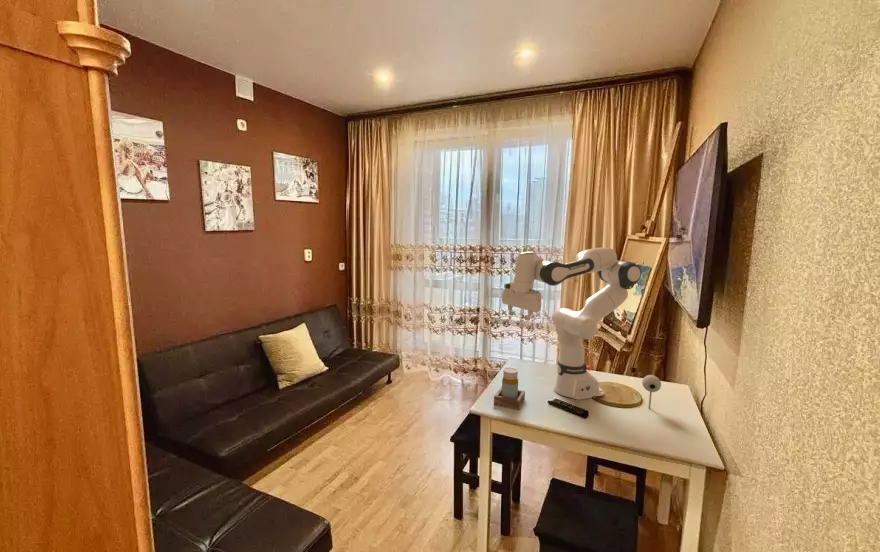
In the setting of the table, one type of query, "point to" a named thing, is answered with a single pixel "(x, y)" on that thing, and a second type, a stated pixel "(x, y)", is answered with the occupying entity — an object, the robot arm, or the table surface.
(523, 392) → the pocket
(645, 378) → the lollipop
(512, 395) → the bottle
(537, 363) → the table surface
